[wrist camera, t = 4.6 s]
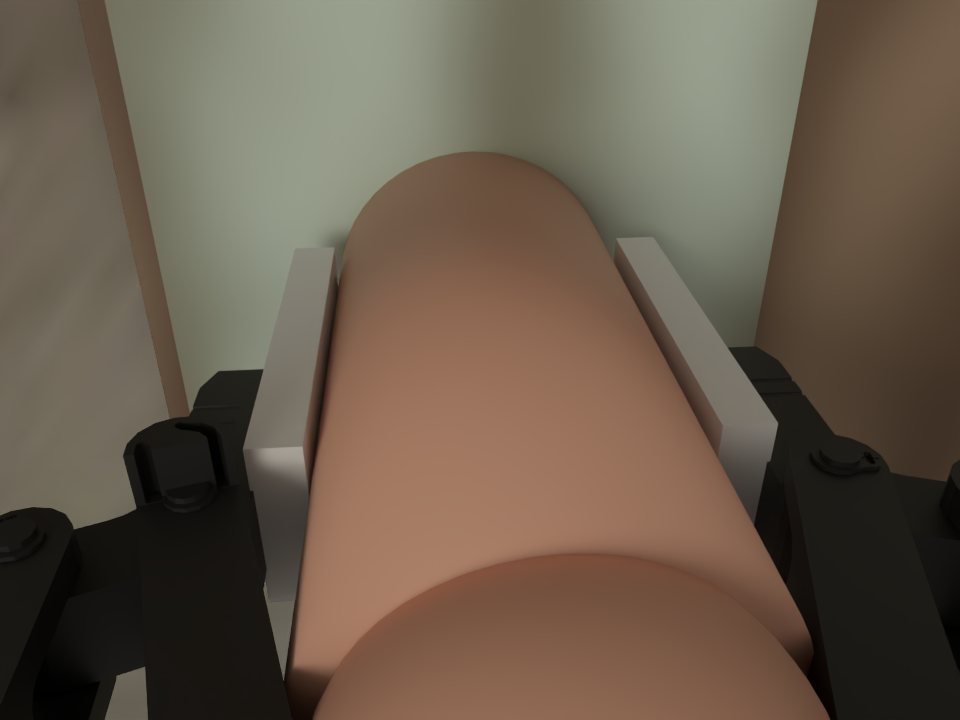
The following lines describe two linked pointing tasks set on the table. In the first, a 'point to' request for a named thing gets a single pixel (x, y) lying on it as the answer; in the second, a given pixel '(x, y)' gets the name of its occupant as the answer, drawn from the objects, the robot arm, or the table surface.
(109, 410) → the table surface
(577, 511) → the pawn
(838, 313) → the game board
